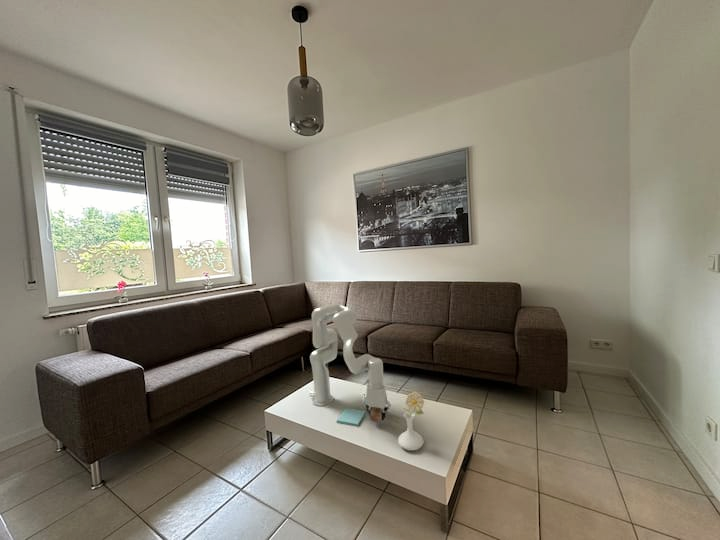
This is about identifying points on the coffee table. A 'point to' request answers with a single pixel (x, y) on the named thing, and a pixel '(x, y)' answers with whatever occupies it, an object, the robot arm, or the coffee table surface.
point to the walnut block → (376, 414)
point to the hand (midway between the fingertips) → (377, 417)
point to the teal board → (351, 417)
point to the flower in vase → (410, 437)
